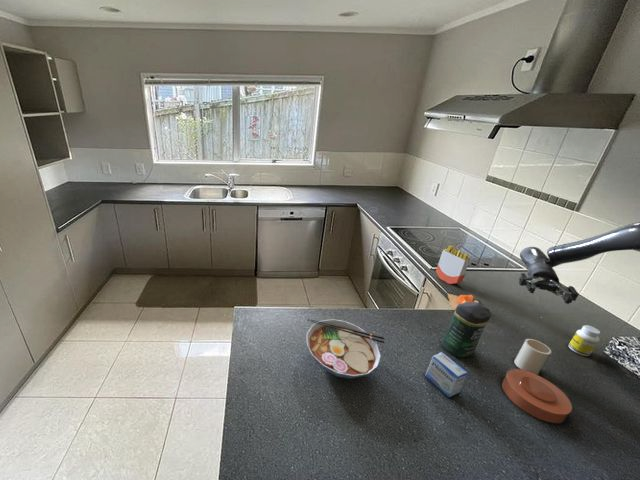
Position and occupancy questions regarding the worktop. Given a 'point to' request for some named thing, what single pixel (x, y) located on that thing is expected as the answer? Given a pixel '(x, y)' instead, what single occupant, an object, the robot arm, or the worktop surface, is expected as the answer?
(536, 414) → the terracotta pedestal disc
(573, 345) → the supplement bottle
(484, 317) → the coffee jar
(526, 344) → the cream cup
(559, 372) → the worktop surface
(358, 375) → the ramen bowl
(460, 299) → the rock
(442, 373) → the medicine box
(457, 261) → the french fries container
